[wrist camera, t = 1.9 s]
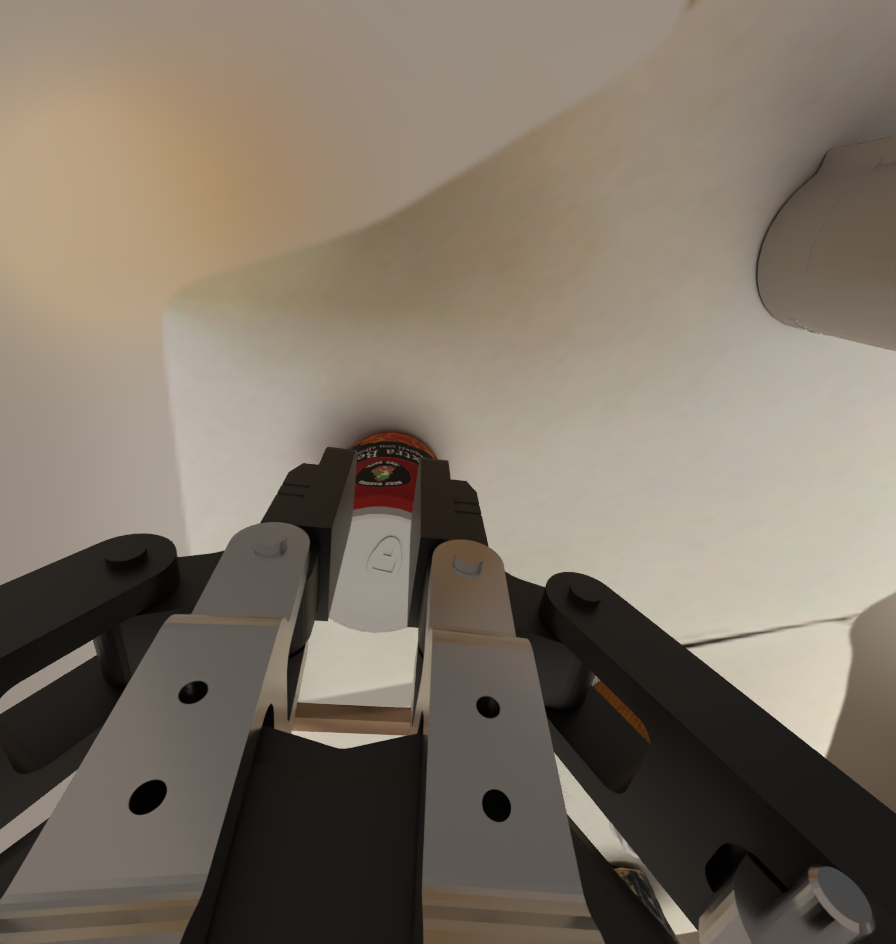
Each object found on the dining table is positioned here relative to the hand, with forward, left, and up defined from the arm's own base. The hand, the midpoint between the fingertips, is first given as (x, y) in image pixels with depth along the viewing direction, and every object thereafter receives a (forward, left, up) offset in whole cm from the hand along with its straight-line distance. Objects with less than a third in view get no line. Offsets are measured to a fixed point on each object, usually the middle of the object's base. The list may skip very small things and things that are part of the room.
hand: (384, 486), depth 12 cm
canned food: (+10, 0, -19) cm, 22 cm away
